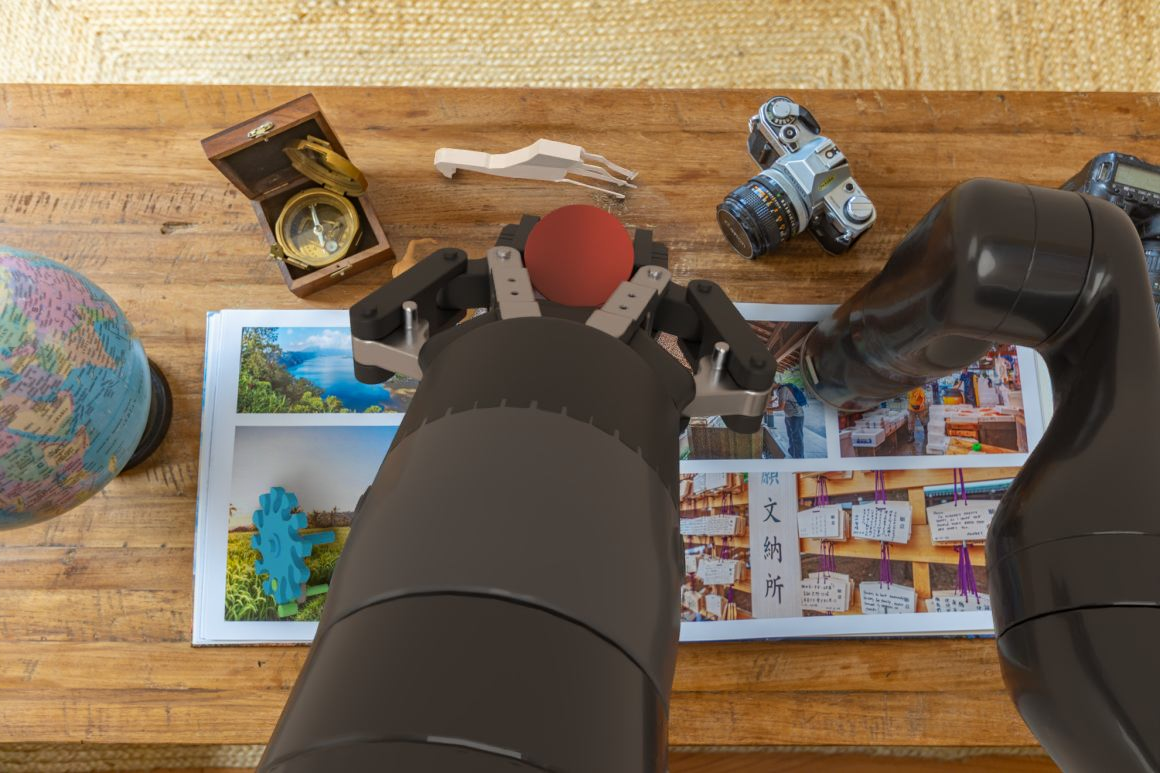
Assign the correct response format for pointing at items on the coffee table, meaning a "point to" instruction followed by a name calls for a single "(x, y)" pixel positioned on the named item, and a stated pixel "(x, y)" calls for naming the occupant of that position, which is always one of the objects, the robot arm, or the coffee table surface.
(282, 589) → the gear
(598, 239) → the red cylinder
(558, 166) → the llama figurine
